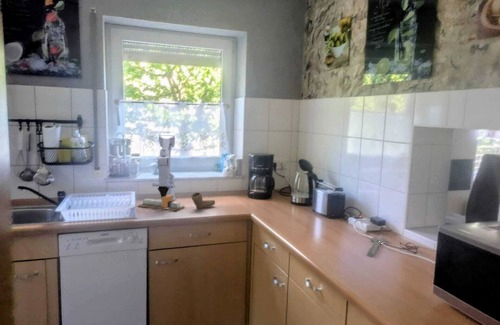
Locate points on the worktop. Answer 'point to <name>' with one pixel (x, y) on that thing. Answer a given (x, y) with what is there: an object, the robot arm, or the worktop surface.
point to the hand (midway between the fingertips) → (163, 198)
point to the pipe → (201, 201)
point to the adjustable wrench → (375, 246)
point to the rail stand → (158, 205)
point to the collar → (166, 200)
